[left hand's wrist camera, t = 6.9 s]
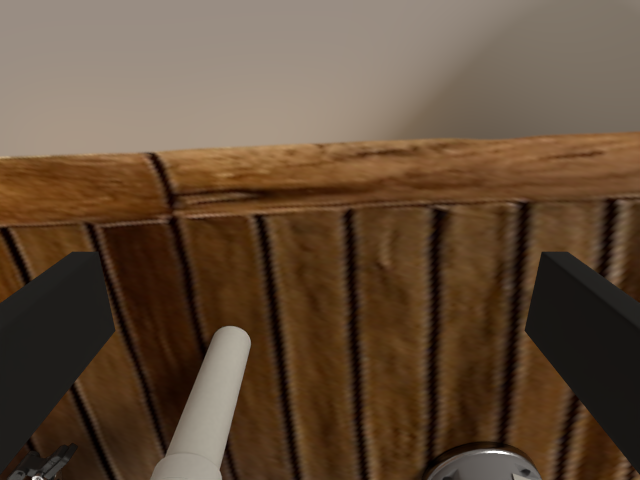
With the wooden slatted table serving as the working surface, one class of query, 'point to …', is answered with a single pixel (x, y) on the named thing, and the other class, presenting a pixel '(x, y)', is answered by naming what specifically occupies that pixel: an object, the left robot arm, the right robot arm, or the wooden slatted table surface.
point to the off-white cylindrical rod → (213, 397)
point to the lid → (185, 468)
